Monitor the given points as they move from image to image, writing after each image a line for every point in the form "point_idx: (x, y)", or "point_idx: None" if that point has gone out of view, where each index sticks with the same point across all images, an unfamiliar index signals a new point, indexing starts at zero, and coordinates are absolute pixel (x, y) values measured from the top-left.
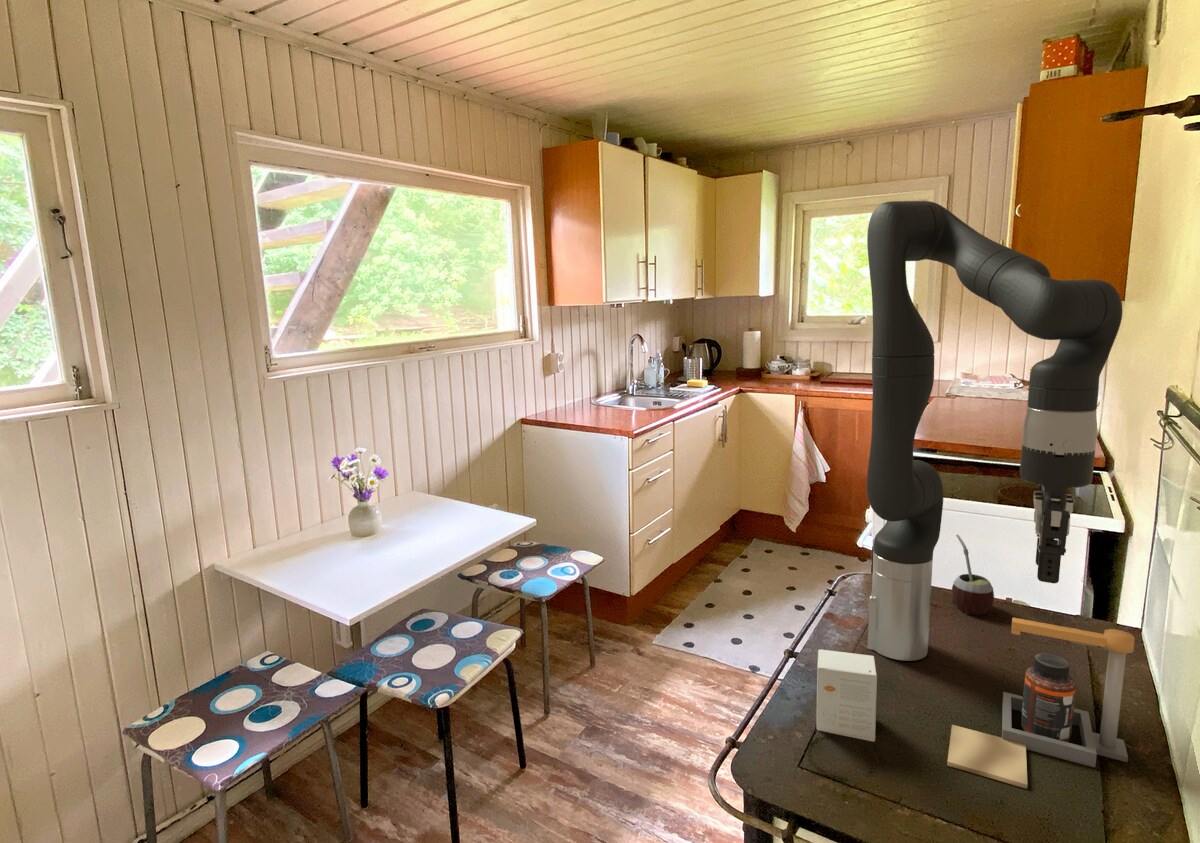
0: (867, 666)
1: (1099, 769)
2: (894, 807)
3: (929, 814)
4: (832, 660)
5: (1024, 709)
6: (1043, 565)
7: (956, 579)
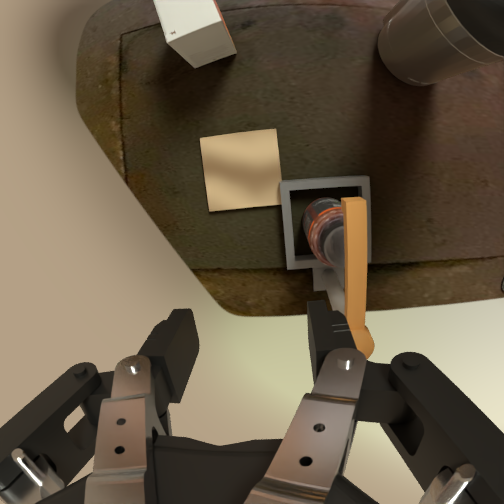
0: (184, 25)
1: (286, 267)
2: (114, 118)
3: (123, 144)
4: None
5: (319, 203)
6: (143, 344)
7: None
